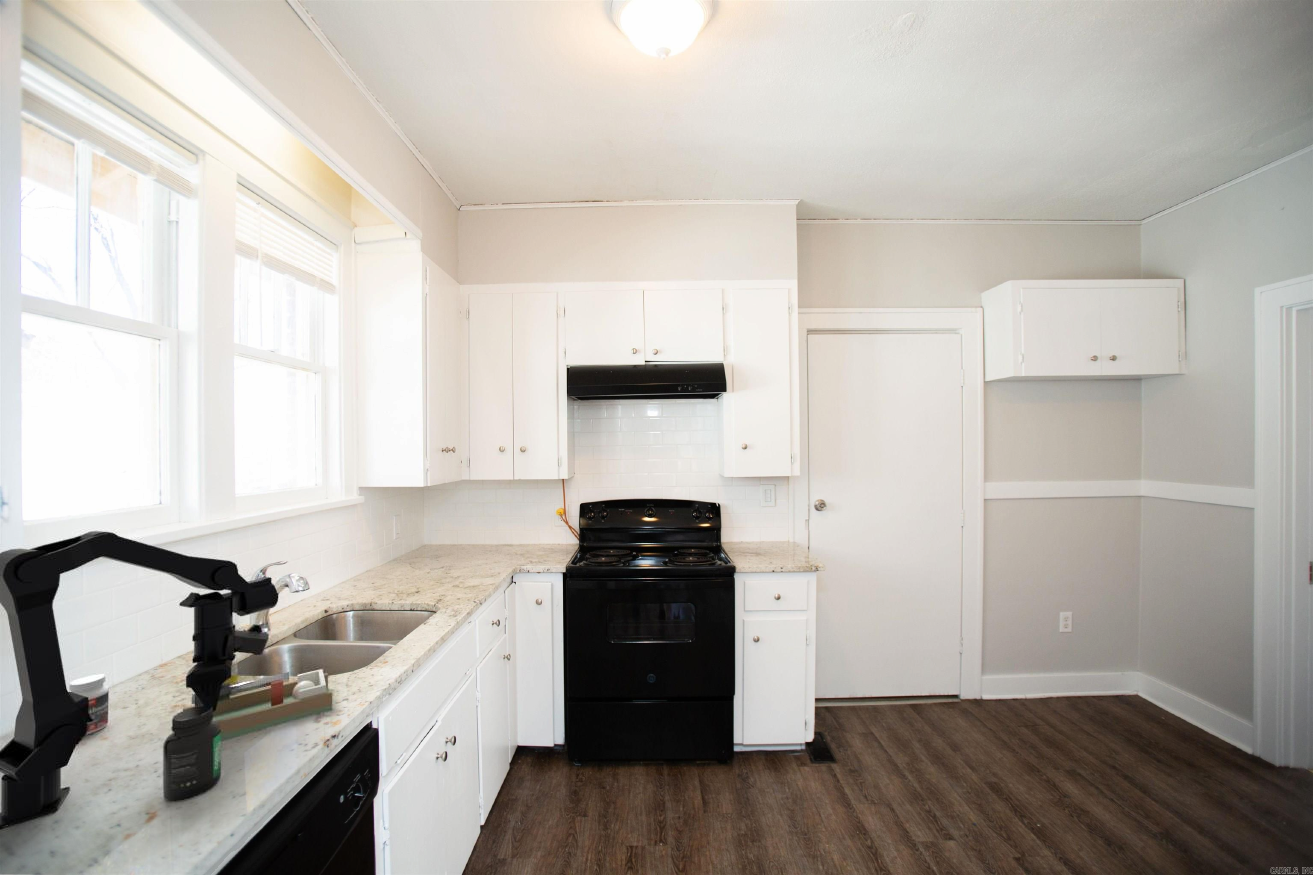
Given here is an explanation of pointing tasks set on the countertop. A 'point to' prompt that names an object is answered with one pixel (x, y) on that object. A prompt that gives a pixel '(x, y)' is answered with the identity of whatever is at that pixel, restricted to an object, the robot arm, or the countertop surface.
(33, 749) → the robot arm
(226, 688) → the rod
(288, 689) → the tray
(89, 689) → the pill bottle
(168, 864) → the countertop surface
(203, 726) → the supplement bottle
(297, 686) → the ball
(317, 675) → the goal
